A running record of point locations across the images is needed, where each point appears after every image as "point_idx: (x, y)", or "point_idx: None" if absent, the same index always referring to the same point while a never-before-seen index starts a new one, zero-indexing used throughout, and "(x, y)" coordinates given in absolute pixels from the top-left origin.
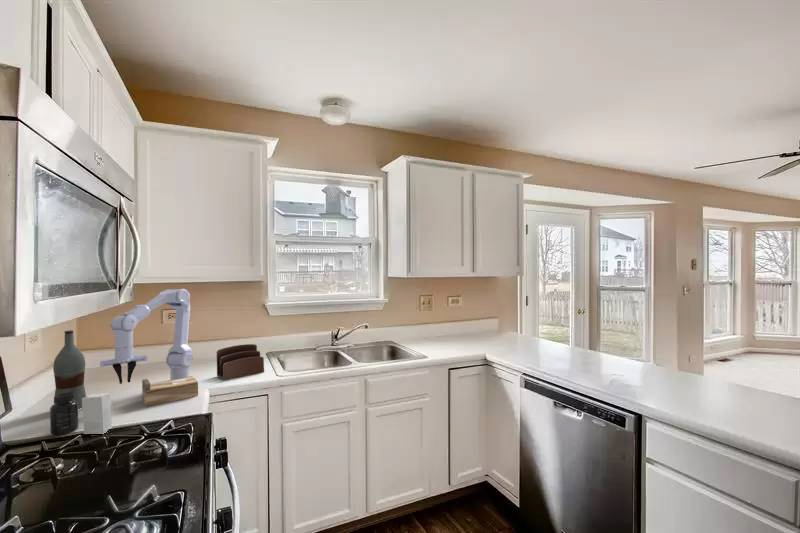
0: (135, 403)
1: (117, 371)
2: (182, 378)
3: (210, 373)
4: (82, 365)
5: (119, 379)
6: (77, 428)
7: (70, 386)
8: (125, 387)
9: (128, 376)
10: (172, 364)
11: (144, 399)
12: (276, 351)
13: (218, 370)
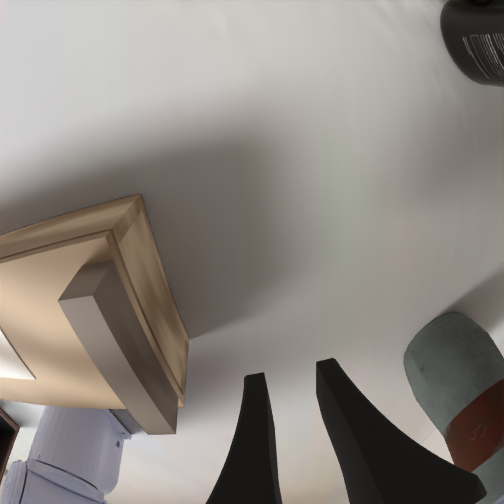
0: (214, 301)
1: (421, 461)
2: (10, 392)
3: None
4: (500, 485)
5: (355, 389)
6: (440, 20)
7: (500, 387)
8: None
9: (266, 423)
10: (82, 499)
11: (155, 276)
12: (5, 474)
13: (10, 439)
